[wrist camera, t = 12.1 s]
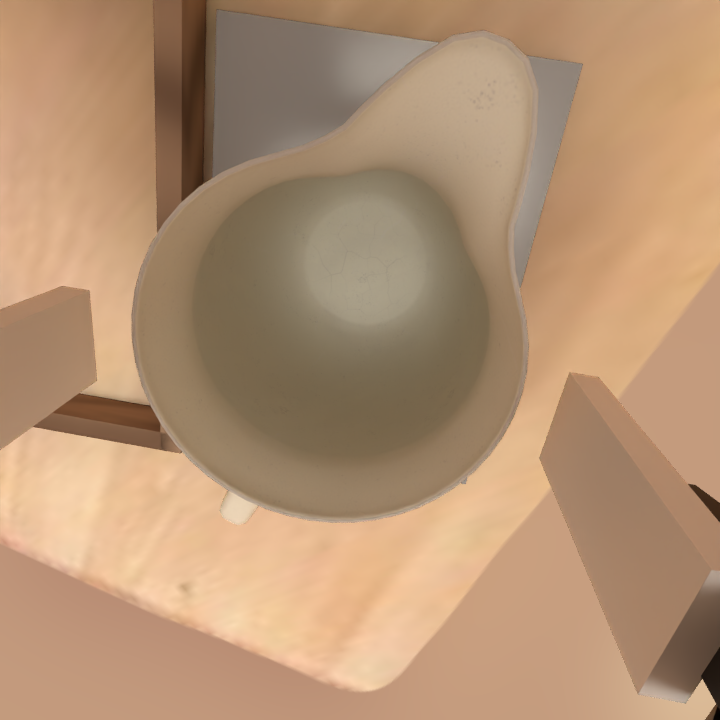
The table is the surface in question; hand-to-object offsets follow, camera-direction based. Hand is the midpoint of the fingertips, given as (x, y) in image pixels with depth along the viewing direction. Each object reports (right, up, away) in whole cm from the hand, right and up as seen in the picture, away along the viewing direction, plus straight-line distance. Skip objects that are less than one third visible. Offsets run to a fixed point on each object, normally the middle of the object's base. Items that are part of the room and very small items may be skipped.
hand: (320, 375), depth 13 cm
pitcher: (+1, +5, +12) cm, 13 cm away
